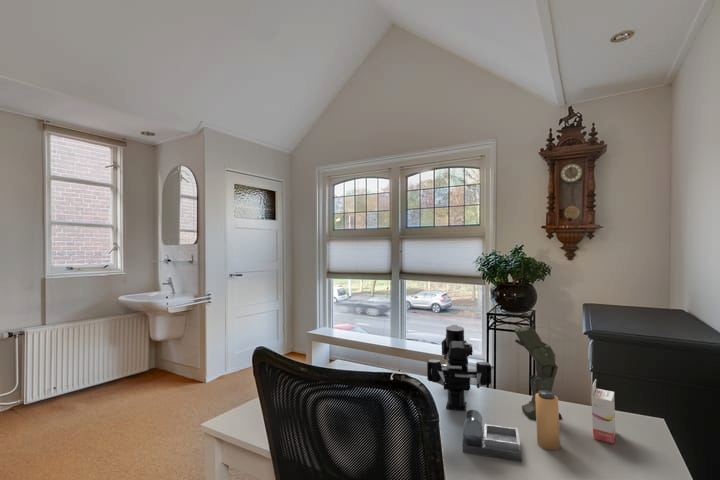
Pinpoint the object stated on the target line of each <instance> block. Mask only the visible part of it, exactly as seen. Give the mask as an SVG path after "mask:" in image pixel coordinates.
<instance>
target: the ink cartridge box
mask: <svg viewBox="0 0 720 480" xmlns="http://www.w3.org/2000/svg"><path fill="white" fill-rule="evenodd" d="M615 408H616V407H615V391H612V390H605V389H601V388H597V379H596V378H595V379H594V381H593V383H592V385H591V415H592V419H591V420H592V434H593V437H592V438H593V440H598V441H601V442H606V443H609V444H614V442H615V441H614V440H615V437H616V432H617V429H616V412H615V411H616V409H615Z"/></svg>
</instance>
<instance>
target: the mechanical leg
mask: <svg viewBox="0 0 720 480" xmlns="http://www.w3.org/2000/svg"><path fill="white" fill-rule="evenodd" d="M513 331H514V332H515V334H516V336H517V338H518V339H515V340H514V342H515V343H517V344H518V345H520V346H522V347H523V348H525V350H526V351H527V352H528V353H529V354H530V356H531V357H532V359H533V360H534V361H535V366H534V367H535V372H536V374H534V373H533V374H532V375H530V376H529V378H530V388H531V391H532V393H533V394H532V396H531V400H529V401H528V403H525V404H523V405H521V410H522V412H523V413H524V414H525V416H527V418H528V419H536V401H535V394H537V393H538V391H540V390H547V391H551V392H553V387H554V382H555V378H556V375H557V373H558V367H559V366H558V365H557V364H556V353H555V351H553V348H552V347H551V345H549V344H547V343H546V342H544V341H542V339H541V337H540V336H539V333H538V332H537V331H536V330H535V328H534V327H532V326H530V325H525V326H523V327H515V329H514V330H513ZM562 418H563V417H562V414H561V413H560V412H559V420H560V419H561V420H562Z"/></svg>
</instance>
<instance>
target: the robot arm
mask: <svg viewBox="0 0 720 480" xmlns="http://www.w3.org/2000/svg"><path fill="white" fill-rule="evenodd" d="M445 333H446V334H445V338H444V339H443V340H442V341H441V356H443V359H444V361H445V360H446V361H447V362H445V364H442V363H441V360H440V359H431V358H430V359H427V362H426V364H427V365H426V370H427V375H426V376H427V380H428V382H432V383H436V384H438V385H441V386H442V387H443V390H444V391H445V390H446V391H447V402H446V406H445V409H448V410H455V411H464V412H465V411H467V404H468V403H467V401H465V400H466V399H465V396H466V395H465V392H466V391H467V392H469V390H471V379H476V388H477V389H480V388H481V387H482V386H490V385H491V384H492V366H491V363H489V362H487V361H476V362H475V363H476V365H475V367H476V368H473V369H472V368H471V369H470V368H468V365H469V361H468V360H469V359H468V357H470V356H473V344H471V343H469V342H467V340H465V328H464V327H462V326H460V325H457V324H451V325H449V326H446V328H445Z"/></svg>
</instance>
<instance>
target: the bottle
mask: <svg viewBox="0 0 720 480" xmlns="http://www.w3.org/2000/svg"><path fill="white" fill-rule="evenodd" d="M535 401H536V418H535V421H536V441H537V445H538V446H539V447H541V448H542V449H545V450H550V451H557V450H560V448H561V434H560V430H561V429H560V419H559V413H560V412H559V411H560V410H559V409H560V408H559V397H558V396H557V395H555V392H553V391H552V392H551V391H547V390H540V391H538V393H537V394H535Z"/></svg>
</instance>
